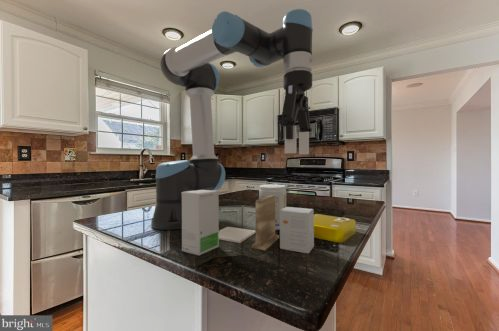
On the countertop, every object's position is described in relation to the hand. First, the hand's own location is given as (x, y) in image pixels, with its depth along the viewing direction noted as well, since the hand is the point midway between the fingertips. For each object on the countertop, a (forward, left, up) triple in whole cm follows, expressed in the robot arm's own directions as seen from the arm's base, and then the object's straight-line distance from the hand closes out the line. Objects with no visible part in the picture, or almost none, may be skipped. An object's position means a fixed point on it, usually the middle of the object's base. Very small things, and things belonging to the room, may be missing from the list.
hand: (297, 154), depth 64 cm
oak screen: (-9, 0, -25) cm, 27 cm away
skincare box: (-23, -12, -26) cm, 37 cm away
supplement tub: (-13, +16, -26) cm, 33 cm away
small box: (0, 0, -26) cm, 26 cm away
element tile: (+5, +18, -26) cm, 32 cm away
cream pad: (-21, +2, -25) cm, 33 cm away
